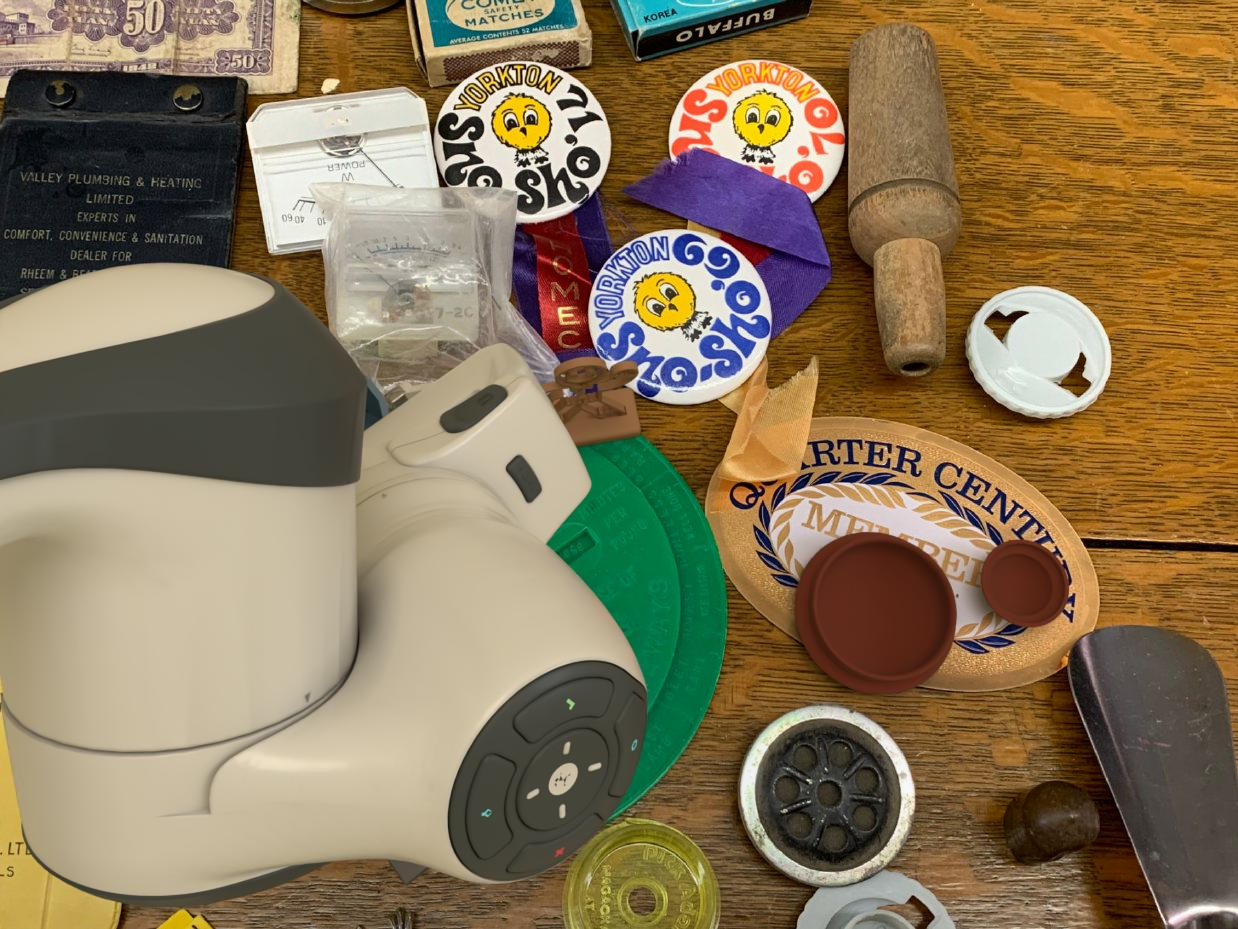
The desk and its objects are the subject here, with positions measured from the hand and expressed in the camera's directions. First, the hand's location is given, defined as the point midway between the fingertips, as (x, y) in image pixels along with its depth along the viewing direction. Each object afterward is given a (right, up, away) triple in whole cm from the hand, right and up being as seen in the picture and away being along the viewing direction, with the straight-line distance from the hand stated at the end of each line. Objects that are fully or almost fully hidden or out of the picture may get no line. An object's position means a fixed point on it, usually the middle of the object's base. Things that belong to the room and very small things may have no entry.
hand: (329, 449), depth 51 cm
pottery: (+38, -11, +20) cm, 45 cm away
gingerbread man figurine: (+13, +2, +23) cm, 27 cm away
